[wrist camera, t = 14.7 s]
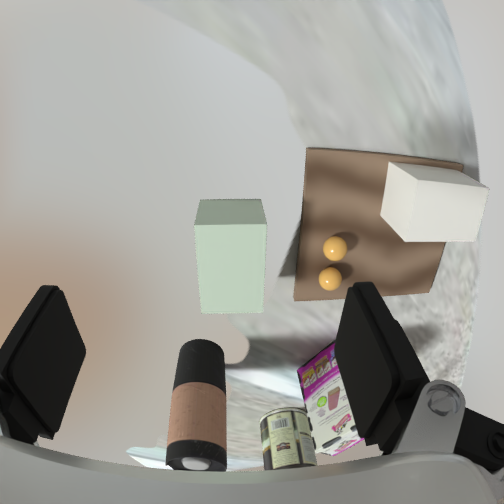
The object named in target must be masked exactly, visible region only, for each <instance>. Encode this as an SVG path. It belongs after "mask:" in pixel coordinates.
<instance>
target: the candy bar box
mask: <svg viewBox="0 0 504 504" xmlns="http://www.w3.org/2000/svg"><path fill="white" fill-rule="evenodd" d="M335 341H336V340H335ZM335 341H334V342H332V343H331V344H330V345H329V346H327V347H326V348H325V349H324V350H323V351H321V352H320V353H319V354H318V355H316V356H315V357H314V358H312V359H311V360H310V361H309V362H307V363H306V364H305V365H303V366H302V367H301V368H299V369H298V370H297V373H298V378H299V382H300V387H301V391H302V395H303V399H304V404H305V408H306V412H307V417H308V422H309V427H310V431H311V435H312V440H313V445H314V449H315V452H318V453H323V454H329V455H330V456H335V455H337V454H338V453H340V452H342V451H344V450H346V449H348V448H350V447H352V446H353V445H355V444H357V443H359V442H360V441H362V440H364V438H360V437H359V435H358V432H357V429H356V425H355V422H354V418H353V415H352V411H351V408H350V405H349V401H348V398H347V395H346V391H345V388H344V385H343V381H342V378H341V375H340V372H339V368H338V365H337V362H336V359H335V355H334V345H335Z"/></svg>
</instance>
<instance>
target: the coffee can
mask: <svg viewBox="0 0 504 504" xmlns="http://www.w3.org/2000/svg"><path fill="white" fill-rule="evenodd" d="M259 424H260V430H261V440H262V449H263V459H264V469H265V471H266V470H280V469H292V468H302V467H311V466H317V461H316V456H315V451H314V447H313V442H312V437H311V432H310V427H309V423H308V417H307V413H306V412H305V411H303V410H300V409H297V408H282V409H277V410H274V411H271V412H269V413H267V414H265V415H264V416H263V417H262V418H261V419H260V422H259Z"/></svg>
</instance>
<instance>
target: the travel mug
mask: <svg viewBox="0 0 504 504" xmlns="http://www.w3.org/2000/svg"><path fill="white" fill-rule="evenodd" d="M225 384H226V383H225V362H224V352H223V350H222V349H221V347H220V346H219V345H218V344H216V343H214V342H212V341H209V340H205V339H195V340H191V341H188V342H187V343H185V344H184V345H183V346H182V348H181V349H180V353H179V358H178V363H177V369H176V375H175V381H174V387H173V393H172V401H171V410H170V420H169V431H168V441H167V452H166V466H167V465H169V466H170V467H172V468H173V469H174V470H184V471H210V472H225V471H226V469H227V443H226V385H225Z"/></svg>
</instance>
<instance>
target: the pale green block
mask: <svg viewBox="0 0 504 504" xmlns="http://www.w3.org/2000/svg"><path fill="white" fill-rule="evenodd" d="M194 230H195V244H196V257H197V270H198V282H199V294H200V304H201V313H202V314H206V313H207V314H218V313H263V299H264V278H265V258H266V257H265V256H266V235H267V222H266V218H265V214H264V210H263V206H262V202H261V199H217V200H215V199H214V200H200V203H199V207H198V211H197V215H196V220H195V224H194Z"/></svg>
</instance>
